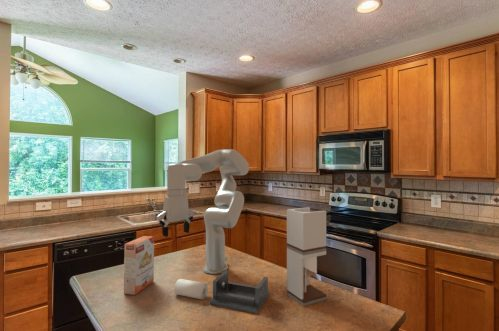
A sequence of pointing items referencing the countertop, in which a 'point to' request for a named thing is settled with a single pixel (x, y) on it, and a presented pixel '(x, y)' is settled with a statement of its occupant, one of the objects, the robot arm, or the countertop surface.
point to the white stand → (304, 253)
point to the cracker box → (138, 264)
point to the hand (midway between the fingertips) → (176, 234)
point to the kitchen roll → (191, 289)
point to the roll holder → (239, 294)
